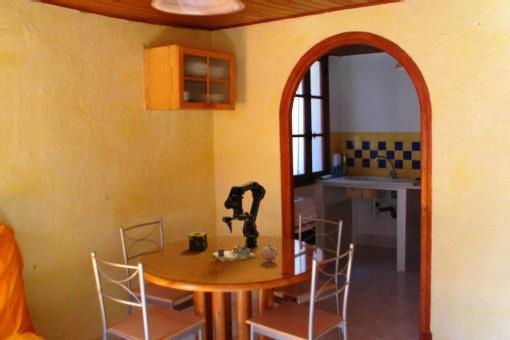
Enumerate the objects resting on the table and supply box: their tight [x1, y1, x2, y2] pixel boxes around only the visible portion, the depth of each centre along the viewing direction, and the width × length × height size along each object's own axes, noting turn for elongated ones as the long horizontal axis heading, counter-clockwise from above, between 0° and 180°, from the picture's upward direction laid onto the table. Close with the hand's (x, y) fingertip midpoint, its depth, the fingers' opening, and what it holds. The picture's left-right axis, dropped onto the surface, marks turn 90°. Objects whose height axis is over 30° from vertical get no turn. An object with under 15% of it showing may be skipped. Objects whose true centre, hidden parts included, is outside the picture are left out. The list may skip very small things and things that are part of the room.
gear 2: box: [238, 247, 251, 256], centre depth 288 cm, size 7×7×3 cm
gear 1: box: [232, 244, 246, 253], centre depth 295 cm, size 7×7×3 cm
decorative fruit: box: [261, 244, 279, 263], centre depth 276 cm, size 9×8×10 cm
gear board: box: [212, 244, 256, 263], centre depth 289 cm, size 20×16×5 cm
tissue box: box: [188, 231, 209, 252], centre depth 308 cm, size 10×10×10 cm
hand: (238, 232), depth 300 cm, fingers open, 9 cm apart
